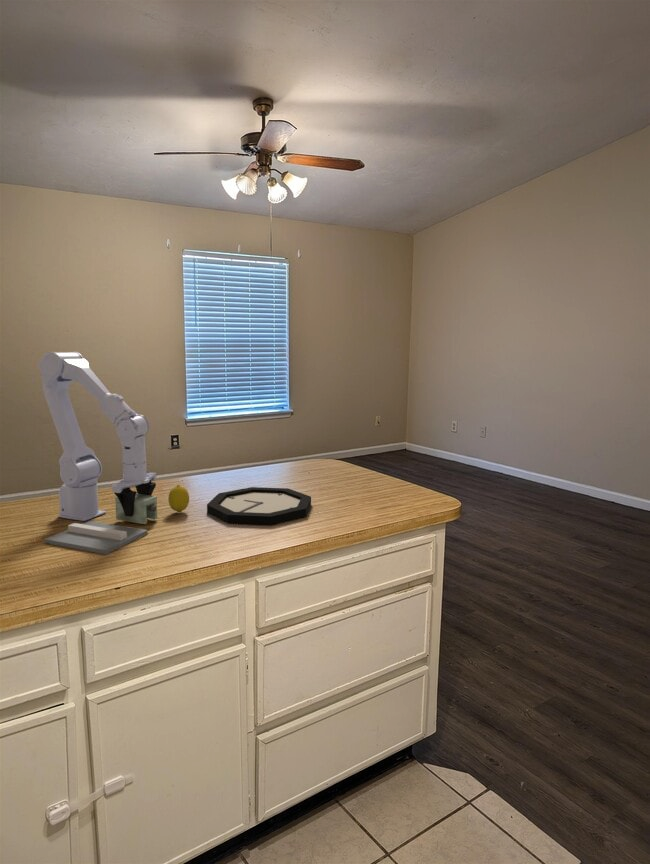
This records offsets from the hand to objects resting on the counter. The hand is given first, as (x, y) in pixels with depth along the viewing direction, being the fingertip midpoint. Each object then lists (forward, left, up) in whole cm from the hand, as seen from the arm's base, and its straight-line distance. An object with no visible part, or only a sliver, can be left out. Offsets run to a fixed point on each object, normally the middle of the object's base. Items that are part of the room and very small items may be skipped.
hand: (136, 512), depth 140 cm
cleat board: (0, -14, -2) cm, 14 cm away
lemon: (+6, +10, -3) cm, 12 cm away
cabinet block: (0, 0, -2) cm, 2 cm away
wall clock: (+25, +22, -3) cm, 33 cm away
